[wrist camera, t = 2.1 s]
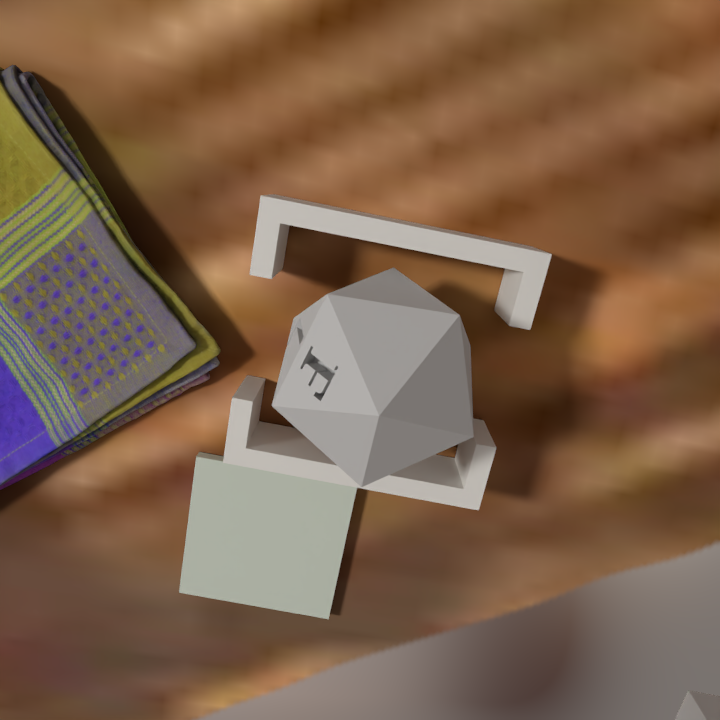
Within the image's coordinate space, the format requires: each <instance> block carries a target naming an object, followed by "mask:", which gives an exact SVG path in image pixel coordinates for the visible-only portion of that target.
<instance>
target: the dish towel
mask: <svg viewBox="0 0 720 720" xmlns="http://www.w3.org/2000/svg"><path fill="white" fill-rule="evenodd" d="M220 351H221V350H220V348H219V346H218V344H217V343H216V341H215V340H214V338H213V337H212V336H211V335H210V334H209V332H208V331H207V330H206V329H205V328H204V326H203V325H201V324H200V323H199V322H198V321H197V319H196V318H195V317H194V315H193V314H192V313H191V312H190V310H189V309H188V307H187V306H186V305H185V304H184V303H183V301H182V300H181V299H180V298H179V297H178V295H177V294H176V293H175V292H174V291H173V290H172V289H171V288H170V287H169V286H168V285H167V284H166V282H165V281H164V280H163V279H162V277H161V276H160V275H159V274H158V272H157V271H156V270H155V268H154V267H153V266H152V265H151V264H150V262H149V261H148V260H147V259H146V257H145V256H144V255H143V254H142V252H141V251H140V250H139V249H138V248H137V246H136V245H135V244H134V243H133V241H132V239H131V237H130V236H129V234H128V232H127V230H126V228H125V227H124V225H123V223H122V221H121V220H120V218H119V216H118V214H117V212H116V211H115V209H114V207H113V206H112V204H111V202H110V200H109V199H108V197H107V195H106V194H105V192H104V190H103V188H102V187H101V185H100V183H99V182H98V180H97V178H96V177H95V175H94V174H93V172H92V170H91V169H90V167H89V166H88V164H87V162H86V161H85V159H84V157H83V156H82V154H81V152H80V150H79V149H78V147H77V145H76V143H75V141H74V140H73V138H72V137H71V135H70V134H69V132H68V131H67V129H66V127H65V126H64V124H63V122H62V121H61V119H60V117H59V116H58V114H57V113H56V111H55V109H54V108H53V107H52V105H51V103H50V101H49V100H48V98H47V97H46V96H45V93H44V91H43V89H42V88H41V86H40V85H39V83H38V82H37V80H36V79H35V77H34V76H33V75H32V74H31V73H30V72H24V73H23V72H22V71H21V70H20V69H19V68H18V67H17V66H16V65H11V66H10V67H8V68H7V69H5V70H4V69H2V68H1V67H0V490H1V489H3V488H5V487H7V486H9V485H11V484H13V483H16V482H18V481H19V480H21V479H24V478H26V477H28V476H30V475H31V474H33V473H35V472H38V471H39V470H41V469H43V468H45V467H47V466H49V465H51V464H53V463H54V462H56V461H58V460H59V459H61V458H64V457H65V456H67V455H70V454H72V453H74V452H76V451H78V450H80V449H82V448H84V447H85V446H87V445H88V444H90V443H92V442H94V441H96V440H97V439H99V438H100V437H102V436H104V435H106V434H108V433H109V432H111V431H113V430H114V429H116V428H118V427H120V426H122V425H124V424H125V423H127V422H129V421H131V420H134V419H137V418H138V417H140V416H141V415H143V414H145V413H147V412H149V411H151V410H152V409H154V408H155V407H157V406H159V405H161V404H163V403H166V402H167V401H168V400H170V399H172V398H173V397H176V396H179V395H180V394H181V393H182V392H184V391H185V390H187V389H189V388H190V387H193V386H196V385H199V384H201V383H203V382H205V381H207V380H209V379H210V374H209V372H208V371H210V370H211V369H213V368H215V367H217V366H218V365H219V364H220V362H219V360H218V358H217V357H216V356H217V355H219V354H220Z"/></svg>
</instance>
